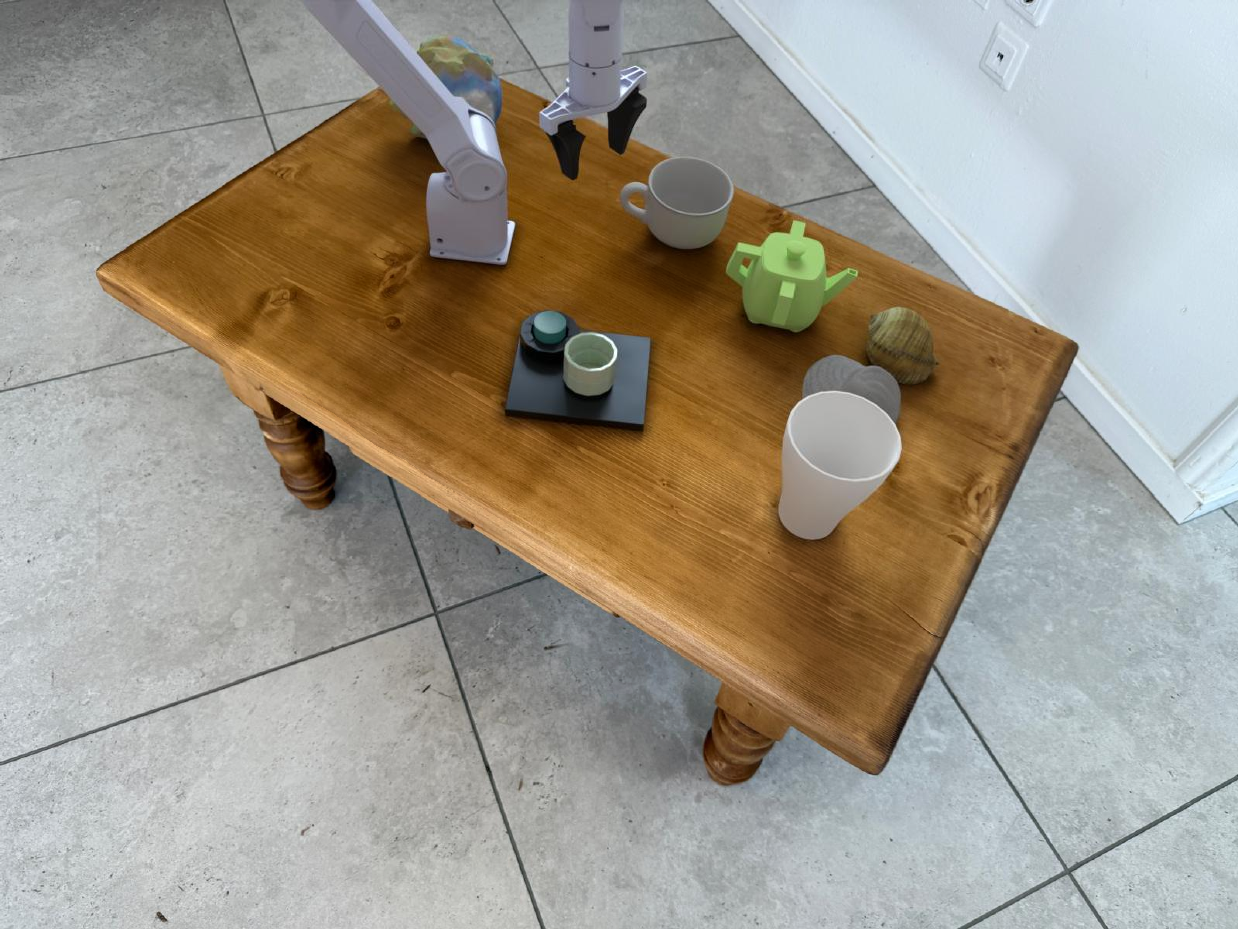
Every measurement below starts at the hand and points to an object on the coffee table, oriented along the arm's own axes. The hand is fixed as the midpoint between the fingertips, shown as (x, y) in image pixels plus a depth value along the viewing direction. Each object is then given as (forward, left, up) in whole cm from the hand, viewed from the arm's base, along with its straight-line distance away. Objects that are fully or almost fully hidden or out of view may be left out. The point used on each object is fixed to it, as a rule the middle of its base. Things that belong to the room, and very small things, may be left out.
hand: (593, 162), depth 106 cm
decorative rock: (-21, +18, -11) cm, 30 cm away
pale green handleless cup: (+3, -26, -9) cm, 28 cm away
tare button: (-2, -21, -8) cm, 23 cm away
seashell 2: (+39, -16, -11) cm, 43 cm away
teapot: (+25, -10, -11) cm, 29 cm away
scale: (+2, -25, -10) cm, 27 cm away
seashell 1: (+32, -26, -11) cm, 42 cm away
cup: (+27, -40, -11) cm, 49 cm away
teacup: (+11, +2, -11) cm, 15 cm away
